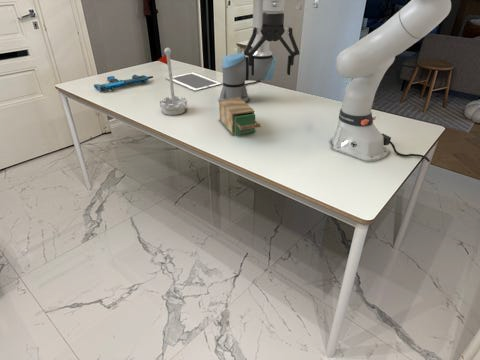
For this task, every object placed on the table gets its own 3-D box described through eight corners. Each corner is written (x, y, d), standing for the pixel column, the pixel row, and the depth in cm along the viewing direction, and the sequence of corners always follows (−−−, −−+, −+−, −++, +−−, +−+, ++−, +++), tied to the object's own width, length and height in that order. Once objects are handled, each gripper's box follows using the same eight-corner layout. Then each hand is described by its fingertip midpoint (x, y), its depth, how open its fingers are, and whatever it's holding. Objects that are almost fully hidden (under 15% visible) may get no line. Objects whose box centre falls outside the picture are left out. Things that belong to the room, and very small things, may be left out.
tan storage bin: (253, 131, 149) (254, 110, 144) (232, 135, 146) (232, 113, 141) (239, 117, 163) (239, 97, 157) (219, 120, 160) (218, 100, 154)
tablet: (166, 78, 215) (166, 78, 215) (192, 72, 226) (192, 72, 226) (195, 91, 195) (194, 90, 195) (222, 83, 206) (222, 83, 206)
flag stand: (184, 104, 177) (178, 43, 160) (190, 113, 167) (184, 49, 150) (159, 107, 173) (150, 46, 156) (163, 117, 163) (155, 52, 146)
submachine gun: (139, 69, 223) (157, 75, 206) (140, 75, 225) (158, 81, 208) (86, 79, 204) (101, 87, 188) (88, 85, 206) (103, 94, 190)
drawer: (260, 137, 142) (261, 119, 138) (240, 141, 140) (240, 123, 135) (241, 118, 159) (241, 102, 155) (223, 121, 157) (222, 104, 152)
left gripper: (237, 13, 113) (237, 77, 125) (311, 13, 114) (305, 76, 125) (236, 10, 119) (237, 71, 131) (307, 10, 120) (301, 71, 132)
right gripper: (296, -32, 119) (293, 11, 127) (335, -33, 129) (330, 7, 137) (284, -33, 124) (282, 9, 131) (322, -33, 134) (318, 6, 141)
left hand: (270, 74), depth 128 cm, fingers open, 13 cm apart
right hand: (307, 8), depth 134 cm, fingers open, 8 cm apart
